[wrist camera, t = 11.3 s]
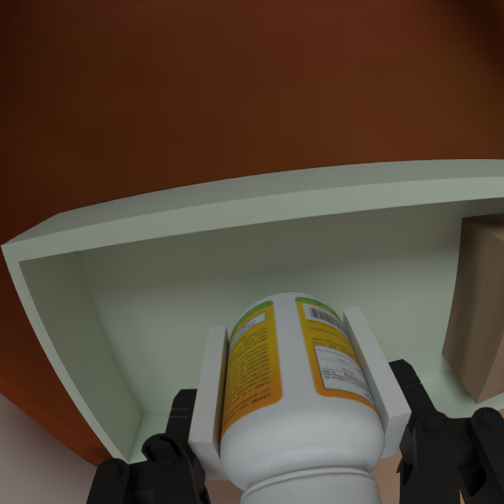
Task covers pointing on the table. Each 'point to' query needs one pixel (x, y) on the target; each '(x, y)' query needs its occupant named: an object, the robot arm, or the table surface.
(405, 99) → the table surface
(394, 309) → the tote
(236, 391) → the supplement bottle
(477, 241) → the walnut block
